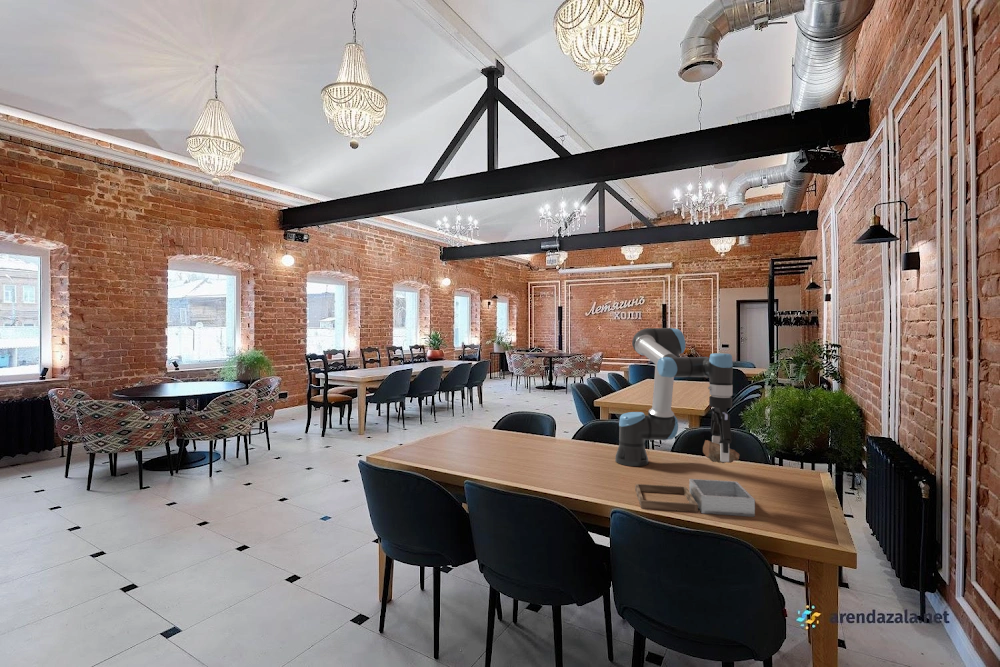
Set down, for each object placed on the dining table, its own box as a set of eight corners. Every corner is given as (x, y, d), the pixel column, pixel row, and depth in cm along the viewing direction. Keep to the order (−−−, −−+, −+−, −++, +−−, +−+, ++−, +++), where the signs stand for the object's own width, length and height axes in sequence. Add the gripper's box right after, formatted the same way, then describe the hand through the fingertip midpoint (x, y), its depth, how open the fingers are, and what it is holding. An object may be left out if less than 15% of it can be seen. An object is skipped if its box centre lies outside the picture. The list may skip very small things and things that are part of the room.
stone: (711, 466, 175) (733, 450, 174) (724, 478, 165) (748, 461, 164) (695, 445, 174) (717, 428, 173) (707, 456, 164) (730, 438, 163)
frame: (635, 490, 185) (635, 483, 185) (686, 493, 182) (686, 486, 182) (641, 508, 166) (641, 501, 166) (697, 511, 163) (697, 504, 163)
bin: (689, 494, 181) (689, 478, 181) (736, 497, 178) (736, 481, 178) (701, 513, 162) (701, 495, 162) (754, 516, 159) (754, 499, 159)
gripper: (701, 391, 181) (701, 449, 181) (718, 400, 159) (718, 465, 159) (722, 392, 180) (722, 449, 180) (742, 401, 157) (741, 467, 158)
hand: (720, 457), depth 170 cm, fingers closed on stone, 10 cm apart
